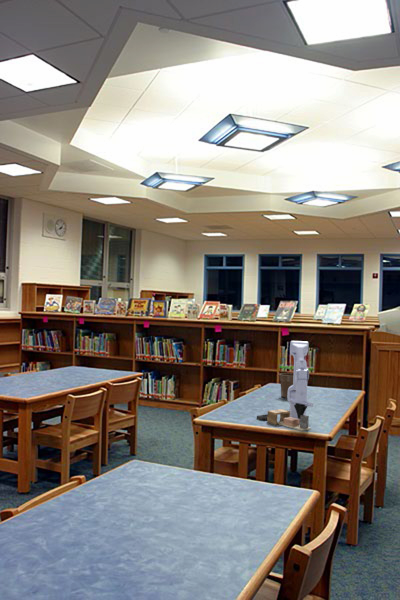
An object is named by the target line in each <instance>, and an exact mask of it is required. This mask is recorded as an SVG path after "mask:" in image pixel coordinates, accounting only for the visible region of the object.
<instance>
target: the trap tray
mask: <svg viewBox="0 0 400 600" xmlns="http://www.w3.org/2000/svg"><path fill="white" fill-rule="evenodd" d="M267 415H268V413H267V414H260V415H256V420H259V421H263V422H265V421H267Z"/></svg>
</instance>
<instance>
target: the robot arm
mask: <svg viewBox="0 0 400 600" xmlns="http://www.w3.org/2000/svg"><path fill="white" fill-rule="evenodd" d="M289 344H290V345H289V354H290V356H293V374H294V376H293V385H292V386H290V387H289V388H288V396H287V398H286V399H287V401H288V403H289V410H288V411H290V417H292V418H296V419H299V421H300V415H307V408H308V407H309V408H313V407H314V403H313V402H309V401H307V400H308V397H307V396H308V381H309V378H310V371H309V368H308V363H307V361H306V359H305V356H307V354H308V352H309V347H310V346H309V344H310V343H309V341H302V340H291V341H290V343H289ZM292 390H296V391H292Z"/></svg>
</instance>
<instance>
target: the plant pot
mask: <svg viewBox="0 0 400 600" xmlns="http://www.w3.org/2000/svg"><path fill="white" fill-rule="evenodd" d="M278 375H279V380H280V396H281V398H285V399H287V396H288V388H289V387H290V386H292V385H293V376H294V373H289V372H287V373H284V372H281V373H278ZM292 391H296V390H292Z"/></svg>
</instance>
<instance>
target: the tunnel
mask: <svg viewBox="0 0 400 600" xmlns="http://www.w3.org/2000/svg"><path fill="white" fill-rule="evenodd" d="M267 414H268V415H267V420H266V423H268V424H271V425H274V426H275V425H276V426H277V425H278V424H277V422H278V416H279V422H281V421H284V418H288V417H290V411H289V410H286V409H283V408H281V409H280V408H279V409H272V410H267Z"/></svg>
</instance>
